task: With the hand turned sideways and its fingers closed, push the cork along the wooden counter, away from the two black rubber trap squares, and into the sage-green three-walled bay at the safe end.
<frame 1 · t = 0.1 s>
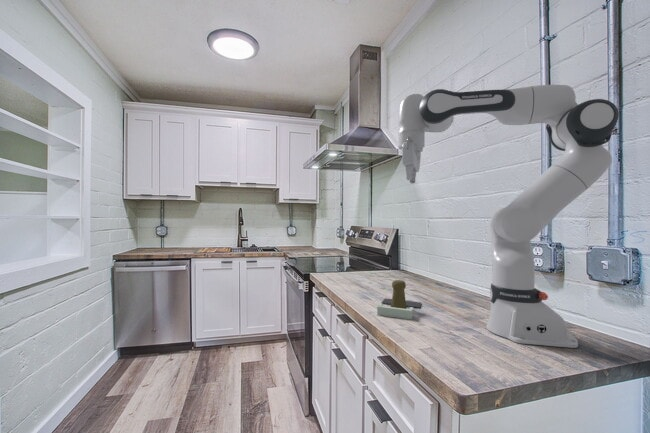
hand: (411, 181, 103), 48 cm above the worktop, tool pointing down, fingers open, 8 cm apart
cork: (398, 309, 112), on the worktop
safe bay: (395, 314, 106), on the worktop
trap squares: (401, 303, 119), on the worktop
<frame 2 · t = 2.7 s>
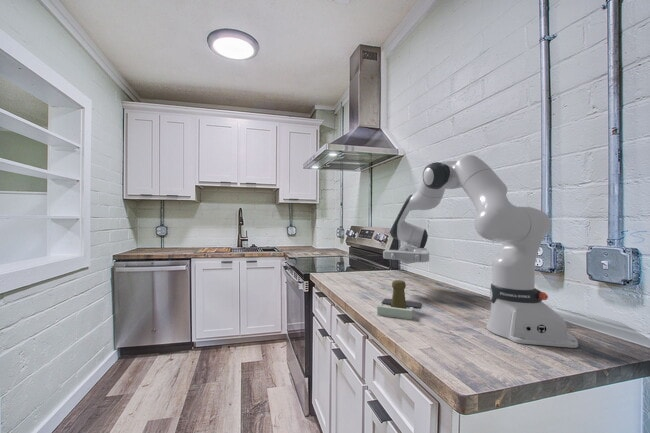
hand: (403, 257, 126), 18 cm above the worktop, tool horizontal, fingers open, 7 cm apart
nothing on the worktop moved.
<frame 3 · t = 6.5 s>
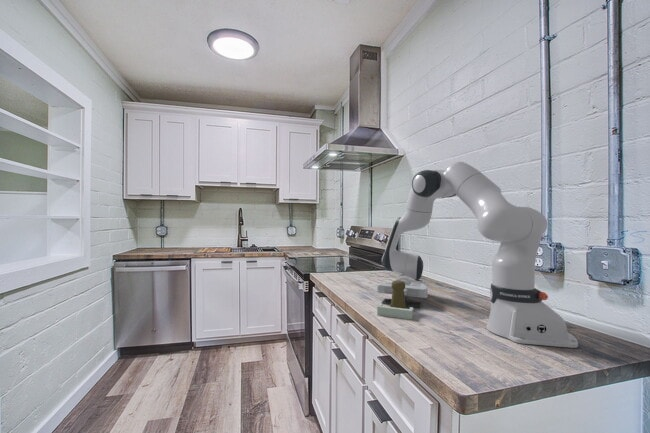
hand: (399, 293, 113), 6 cm above the worktop, tool horizontal, fingers closed, pressing on cork
cork: (398, 309, 112), on the worktop, touching gripper
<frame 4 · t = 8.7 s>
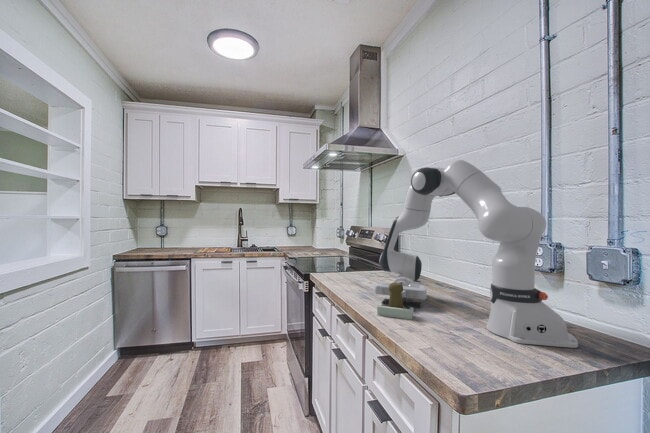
hand: (397, 295, 111), 6 cm above the worktop, tool horizontal, fingers closed
cork: (395, 313, 107), on the worktop
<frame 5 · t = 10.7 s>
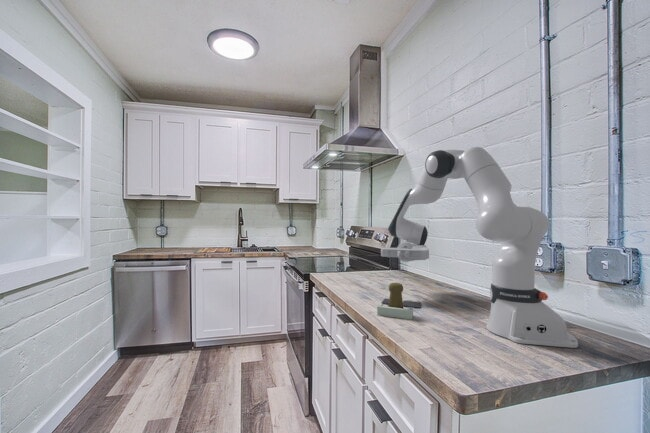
hand: (402, 254, 120), 20 cm above the worktop, tool horizontal, fingers closed
nothing on the worktop moved.
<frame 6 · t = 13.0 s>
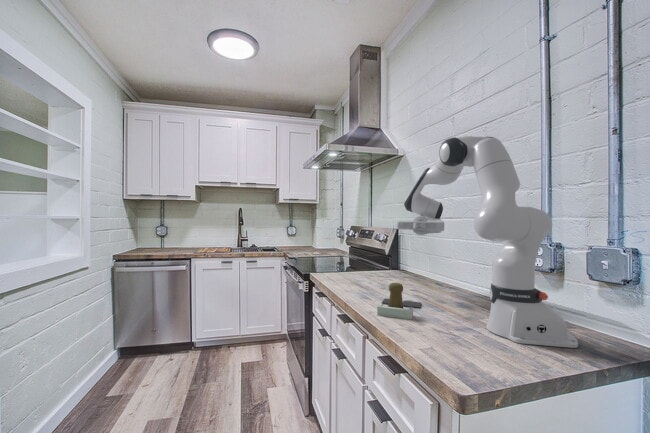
hand: (418, 225, 123), 32 cm above the worktop, tool horizontal, fingers closed
nothing on the worktop moved.
at the end: cork inside the target area (0.4 cm from its centre), on the worktop; cork tilted 0°; cork touching worktop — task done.
